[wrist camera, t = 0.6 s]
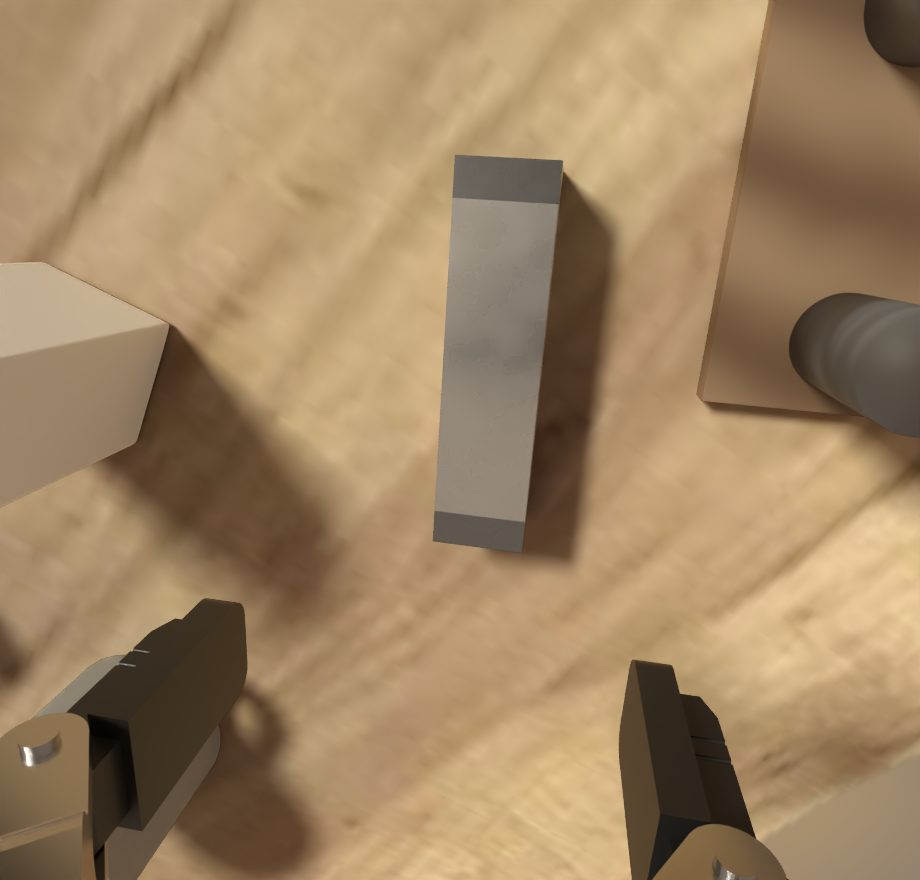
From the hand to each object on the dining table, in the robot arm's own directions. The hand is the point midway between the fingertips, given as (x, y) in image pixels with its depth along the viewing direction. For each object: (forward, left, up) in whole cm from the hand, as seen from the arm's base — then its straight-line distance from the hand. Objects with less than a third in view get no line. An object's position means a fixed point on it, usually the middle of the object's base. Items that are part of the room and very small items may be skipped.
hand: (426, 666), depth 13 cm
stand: (-11, +14, -19) cm, 26 cm away
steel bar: (-3, 0, -19) cm, 19 cm away
